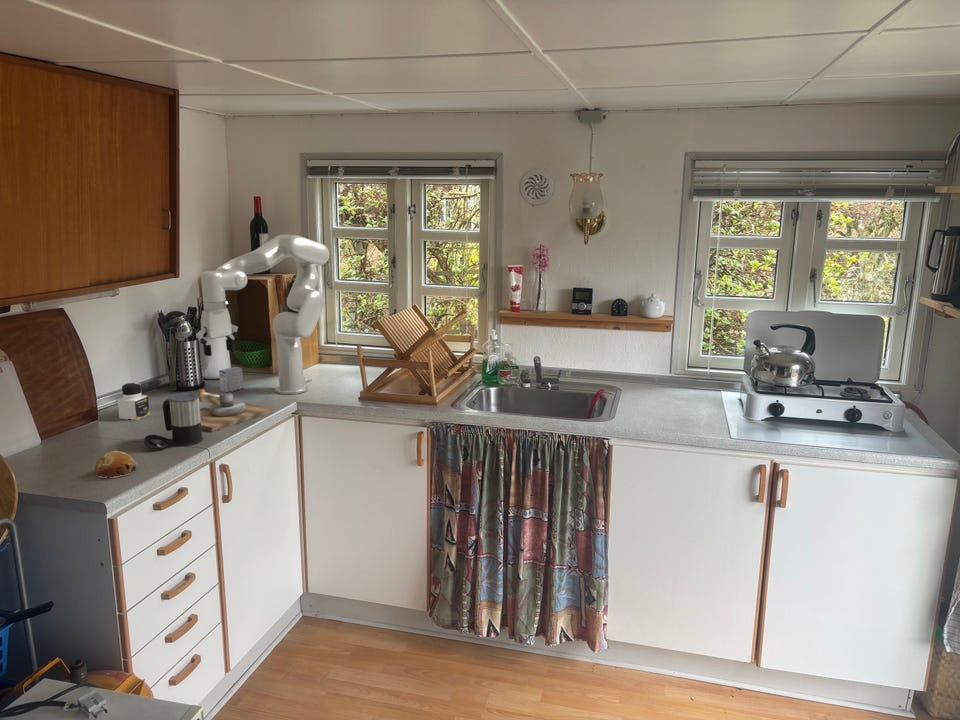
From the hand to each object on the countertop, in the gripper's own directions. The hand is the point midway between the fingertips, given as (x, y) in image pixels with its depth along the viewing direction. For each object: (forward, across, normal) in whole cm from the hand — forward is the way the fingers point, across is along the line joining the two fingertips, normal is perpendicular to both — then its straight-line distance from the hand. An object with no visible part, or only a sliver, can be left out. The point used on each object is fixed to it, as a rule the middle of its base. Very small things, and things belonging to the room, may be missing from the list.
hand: (219, 353), depth 262 cm
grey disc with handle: (+19, +7, +6) cm, 21 cm away
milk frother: (+20, +36, +20) cm, 46 cm away
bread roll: (+20, +59, +28) cm, 68 cm away
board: (+20, +9, +9) cm, 24 cm away
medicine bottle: (+20, +24, -18) cm, 36 cm away
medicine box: (+21, -19, -19) cm, 34 cm away
